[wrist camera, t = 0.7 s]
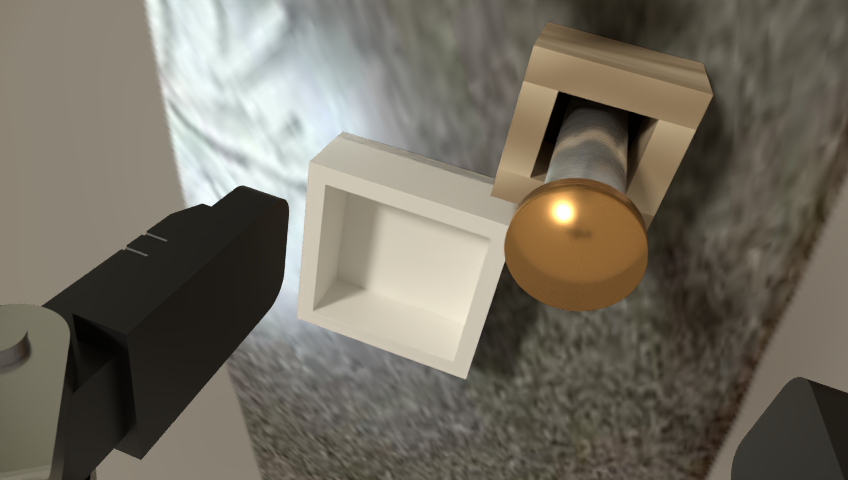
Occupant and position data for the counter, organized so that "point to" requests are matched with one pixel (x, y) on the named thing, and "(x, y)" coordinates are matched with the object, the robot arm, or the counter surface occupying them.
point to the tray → (401, 251)
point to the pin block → (612, 85)
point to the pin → (581, 217)
